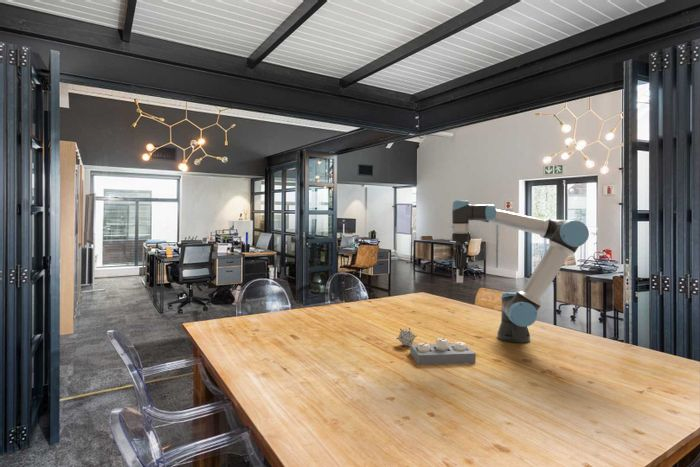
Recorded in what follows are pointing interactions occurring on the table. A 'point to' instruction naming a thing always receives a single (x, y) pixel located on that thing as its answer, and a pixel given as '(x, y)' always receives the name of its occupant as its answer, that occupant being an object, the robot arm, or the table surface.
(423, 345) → the button
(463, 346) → the button
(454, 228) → the robot arm
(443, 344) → the button
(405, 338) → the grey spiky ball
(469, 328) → the table surface
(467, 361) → the button board
